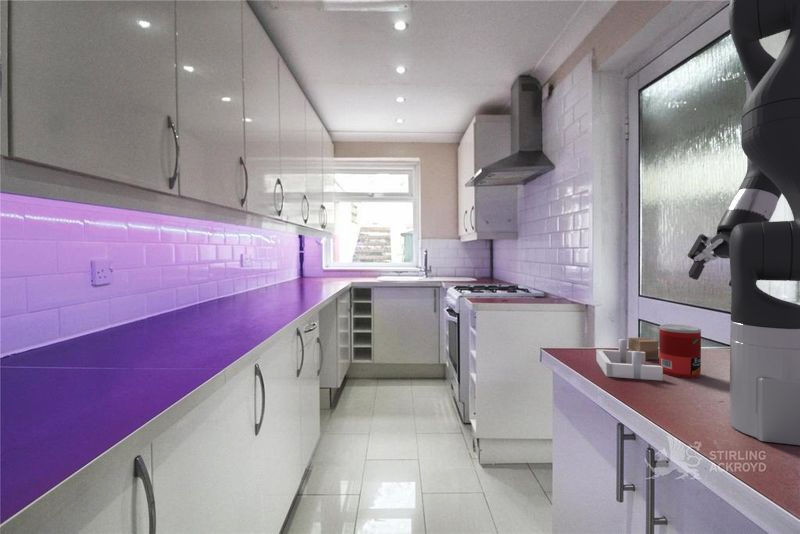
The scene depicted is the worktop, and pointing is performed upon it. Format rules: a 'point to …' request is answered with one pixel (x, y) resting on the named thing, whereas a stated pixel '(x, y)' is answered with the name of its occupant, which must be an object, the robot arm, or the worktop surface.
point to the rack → (627, 370)
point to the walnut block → (644, 346)
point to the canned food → (680, 350)
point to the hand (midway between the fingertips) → (712, 282)
